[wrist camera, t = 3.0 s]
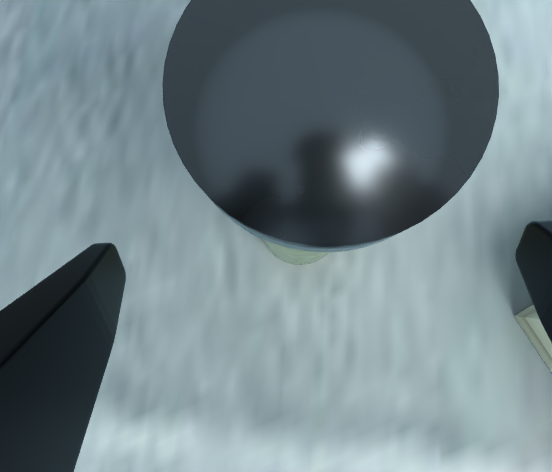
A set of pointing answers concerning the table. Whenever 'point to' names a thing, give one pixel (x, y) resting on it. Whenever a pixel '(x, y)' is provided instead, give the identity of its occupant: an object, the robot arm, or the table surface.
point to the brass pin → (330, 114)
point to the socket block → (536, 333)
